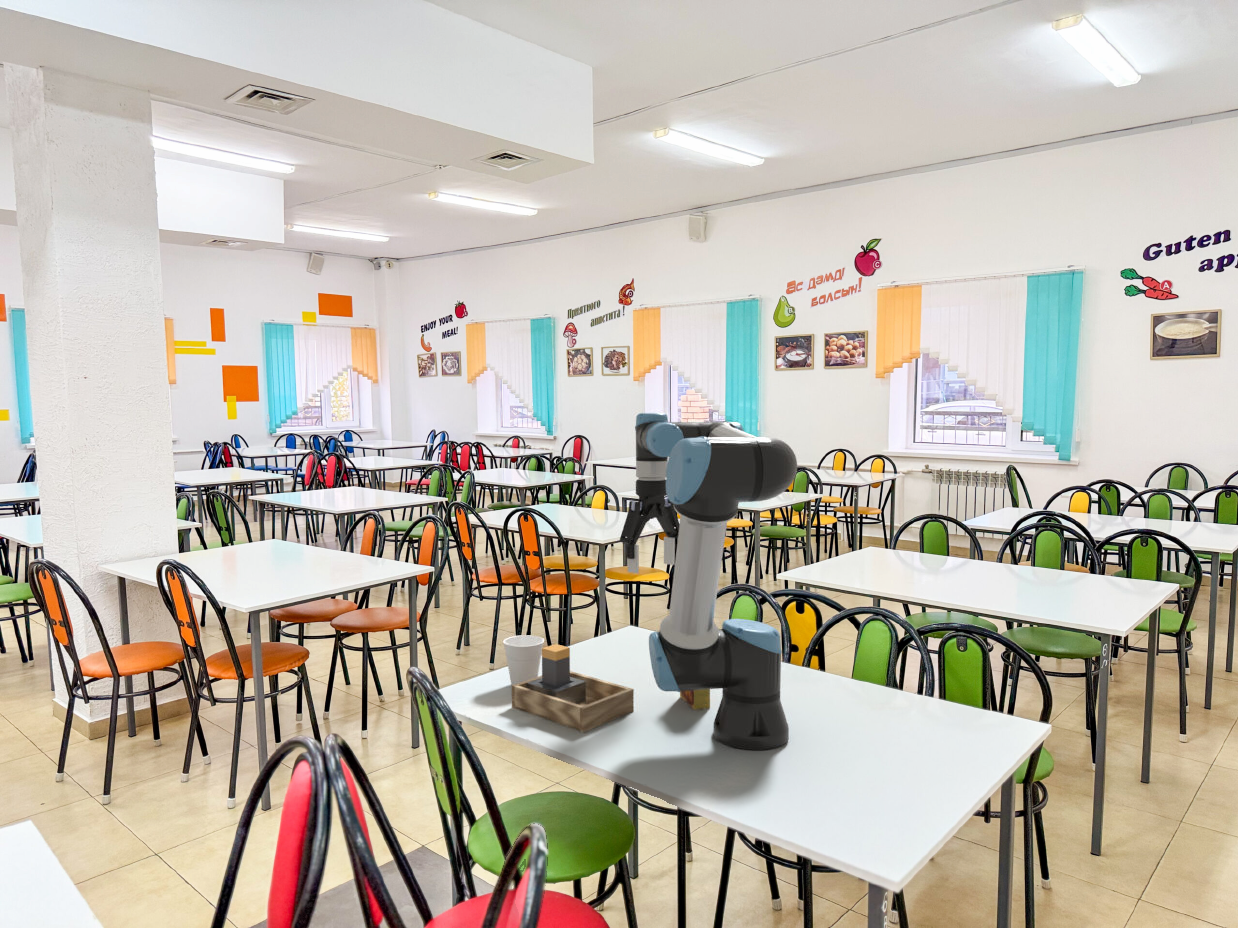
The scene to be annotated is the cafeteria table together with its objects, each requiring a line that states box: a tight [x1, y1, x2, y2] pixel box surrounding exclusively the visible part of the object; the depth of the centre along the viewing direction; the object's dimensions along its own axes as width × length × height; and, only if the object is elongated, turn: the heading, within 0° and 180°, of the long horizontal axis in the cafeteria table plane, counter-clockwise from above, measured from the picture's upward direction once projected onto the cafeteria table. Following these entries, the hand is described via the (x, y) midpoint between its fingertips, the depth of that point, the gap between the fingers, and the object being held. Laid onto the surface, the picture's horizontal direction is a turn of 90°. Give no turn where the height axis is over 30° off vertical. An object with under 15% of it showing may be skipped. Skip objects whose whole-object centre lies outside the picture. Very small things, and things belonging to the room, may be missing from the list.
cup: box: [502, 634, 545, 686], centre depth 204 cm, size 10×10×11 cm
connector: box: [541, 643, 571, 688], centre depth 191 cm, size 4×4×12 cm
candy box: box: [679, 689, 711, 711], centre depth 191 cm, size 9×4×15 cm, turn 17°
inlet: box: [527, 677, 586, 704], centre depth 191 cm, size 9×9×4 cm
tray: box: [511, 670, 635, 733], centre depth 188 cm, size 22×16×5 cm
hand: (651, 568), depth 200 cm, fingers open, 13 cm apart
